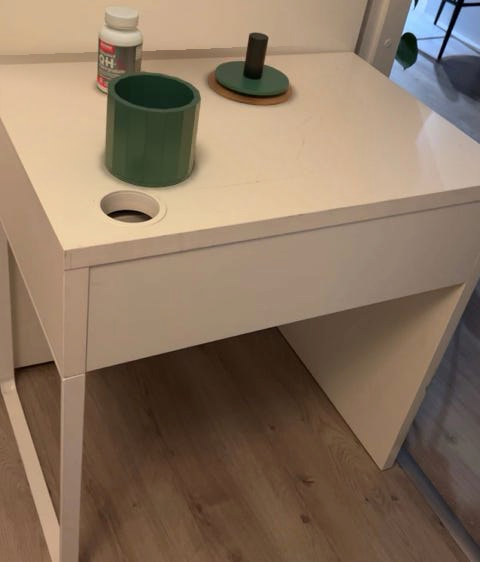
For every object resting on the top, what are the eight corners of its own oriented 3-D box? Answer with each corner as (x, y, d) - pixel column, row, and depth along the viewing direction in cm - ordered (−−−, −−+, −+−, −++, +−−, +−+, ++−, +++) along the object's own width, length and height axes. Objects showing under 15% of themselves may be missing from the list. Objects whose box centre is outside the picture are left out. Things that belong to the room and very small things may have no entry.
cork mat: (213, 101, 95) (213, 98, 94) (203, 65, 104) (203, 63, 103) (299, 107, 97) (300, 105, 97) (282, 72, 106) (283, 69, 106)
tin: (105, 184, 75) (108, 108, 70) (104, 141, 82) (107, 68, 77) (195, 189, 77) (205, 114, 72) (187, 146, 84) (195, 75, 79)
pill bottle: (92, 93, 91) (94, 14, 86) (101, 76, 96) (104, 0, 90) (135, 100, 92) (140, 22, 86) (142, 83, 96) (148, 8, 90)
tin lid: (219, 96, 95) (225, 47, 91) (210, 65, 103) (215, 18, 99) (294, 102, 97) (304, 54, 93) (280, 71, 105) (288, 25, 101)
